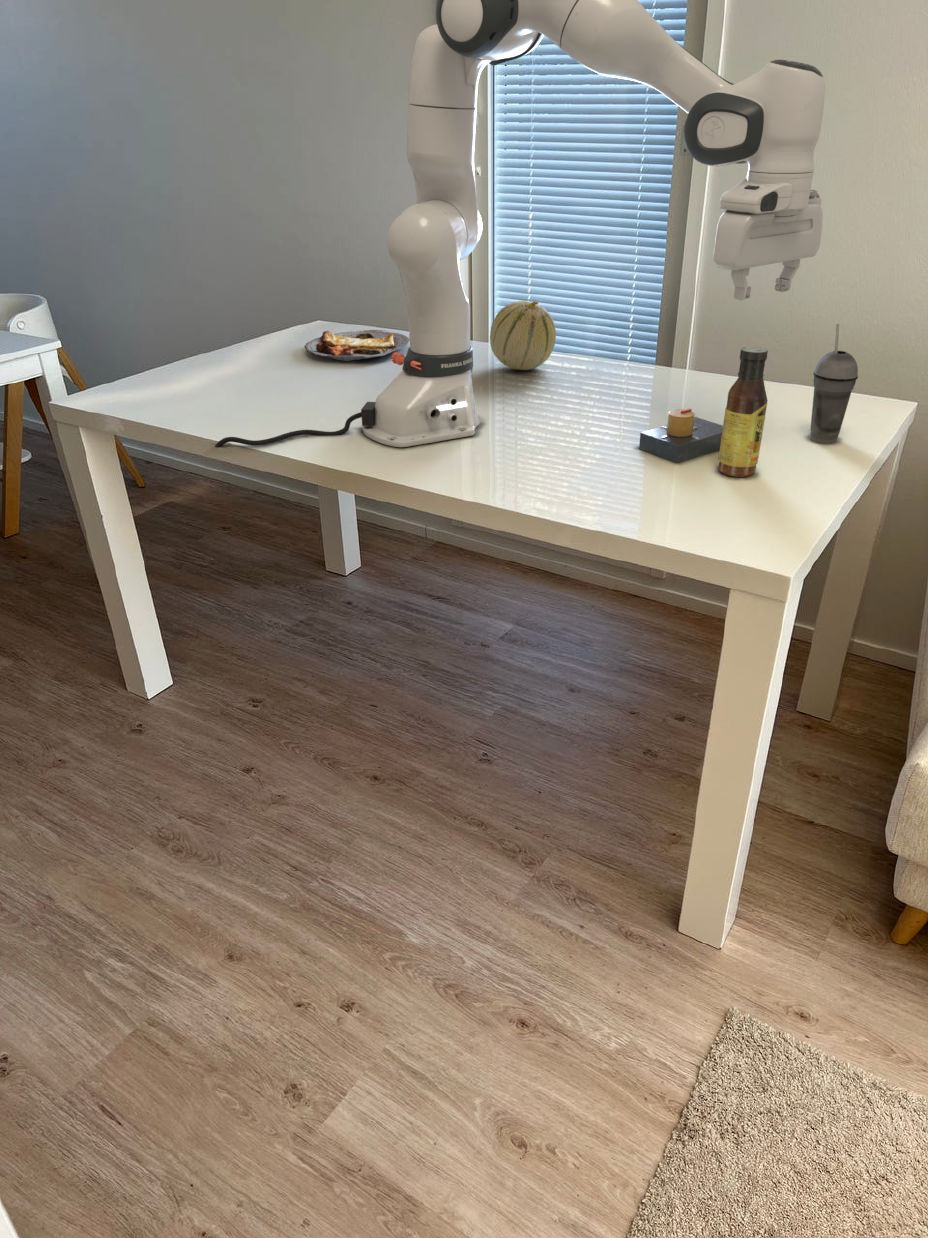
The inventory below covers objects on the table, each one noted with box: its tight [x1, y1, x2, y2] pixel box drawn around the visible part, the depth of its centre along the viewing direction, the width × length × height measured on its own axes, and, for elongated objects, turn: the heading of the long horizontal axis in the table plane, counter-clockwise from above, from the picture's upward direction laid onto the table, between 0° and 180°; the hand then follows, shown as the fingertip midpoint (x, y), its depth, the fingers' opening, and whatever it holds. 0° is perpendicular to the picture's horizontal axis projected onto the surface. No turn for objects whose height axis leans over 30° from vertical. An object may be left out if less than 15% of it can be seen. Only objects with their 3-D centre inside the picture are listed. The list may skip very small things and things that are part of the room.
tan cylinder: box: [666, 408, 696, 437], centre depth 158 cm, size 4×4×4 cm
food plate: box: [303, 329, 410, 362], centre depth 222 cm, size 25×23×4 cm
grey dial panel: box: [638, 416, 723, 464], centre depth 161 cm, size 14×9×3 cm, turn 126°
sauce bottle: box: [717, 346, 769, 478], centre depth 147 cm, size 7×6×20 cm
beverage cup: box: [809, 323, 859, 445], centre depth 159 cm, size 7×7×20 cm
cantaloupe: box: [489, 300, 557, 371], centre depth 203 cm, size 15×15×15 cm
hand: (762, 294), depth 138 cm, fingers open, 8 cm apart
